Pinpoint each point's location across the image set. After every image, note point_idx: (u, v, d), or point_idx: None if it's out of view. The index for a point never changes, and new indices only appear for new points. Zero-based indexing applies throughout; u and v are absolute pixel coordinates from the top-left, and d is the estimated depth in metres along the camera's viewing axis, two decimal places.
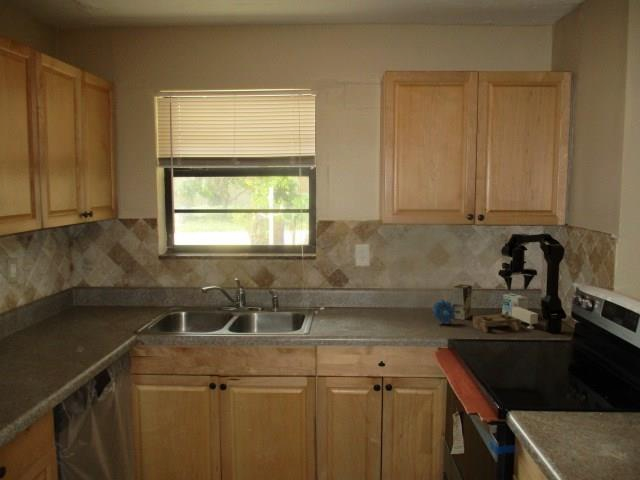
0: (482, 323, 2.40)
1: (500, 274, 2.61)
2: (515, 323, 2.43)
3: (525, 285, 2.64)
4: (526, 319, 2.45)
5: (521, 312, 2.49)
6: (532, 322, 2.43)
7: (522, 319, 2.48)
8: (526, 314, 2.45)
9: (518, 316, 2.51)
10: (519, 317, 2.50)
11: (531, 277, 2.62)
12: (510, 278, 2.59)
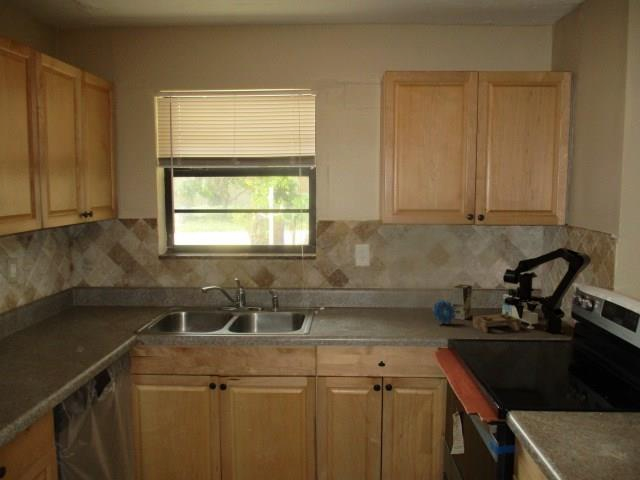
0: (482, 323, 2.40)
1: (506, 302, 2.47)
2: (515, 323, 2.43)
3: None
4: (526, 319, 2.45)
5: None
6: (532, 322, 2.43)
7: (522, 319, 2.48)
8: (526, 314, 2.45)
9: (518, 316, 2.51)
10: None
11: (535, 305, 2.47)
12: (522, 306, 2.46)
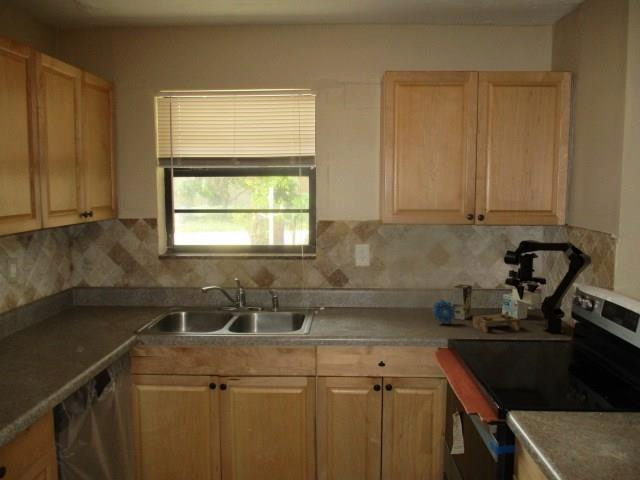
0: (482, 323, 2.40)
1: (507, 283, 2.46)
2: (515, 323, 2.43)
3: None
4: (527, 300, 2.44)
5: None
6: (533, 303, 2.42)
7: (523, 300, 2.47)
8: (527, 295, 2.44)
9: None
10: None
11: (535, 286, 2.46)
12: (522, 287, 2.45)
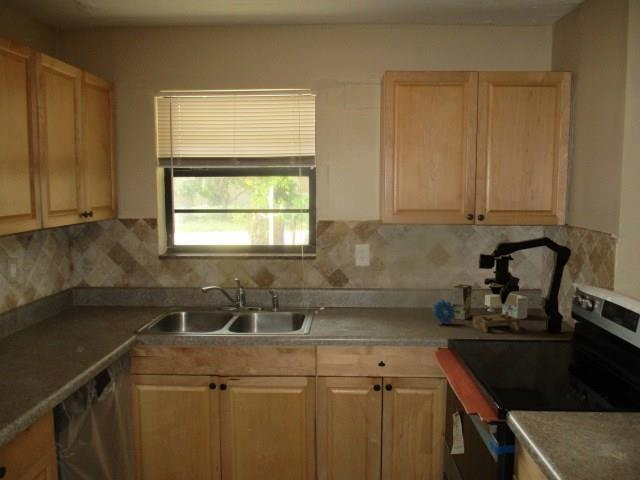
0: (482, 323, 2.40)
1: None
2: (515, 323, 2.43)
3: None
4: None
5: None
6: (486, 303, 2.41)
7: None
8: None
9: None
10: None
11: (500, 291, 2.38)
12: (491, 288, 2.44)
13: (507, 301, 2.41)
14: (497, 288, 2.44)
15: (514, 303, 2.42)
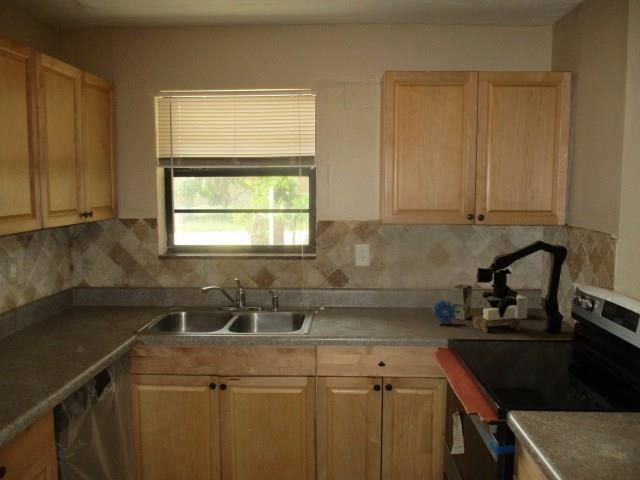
0: (482, 323, 2.40)
1: None
2: (515, 323, 2.43)
3: None
4: None
5: None
6: (484, 317, 2.42)
7: None
8: None
9: None
10: None
11: (498, 304, 2.38)
12: (489, 301, 2.45)
13: (505, 315, 2.41)
14: (495, 301, 2.44)
15: (513, 316, 2.42)
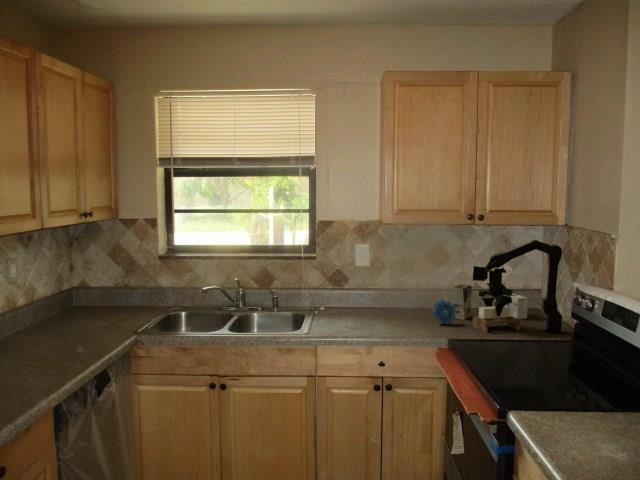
0: (482, 323, 2.40)
1: None
2: (515, 323, 2.43)
3: None
4: None
5: None
6: (480, 316, 2.45)
7: None
8: None
9: None
10: None
11: (495, 303, 2.40)
12: (483, 299, 2.49)
13: (501, 313, 2.45)
14: (489, 299, 2.49)
15: (508, 315, 2.46)
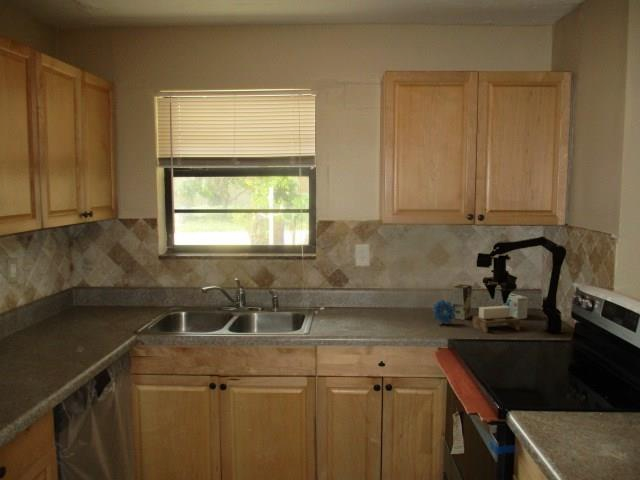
0: (482, 323, 2.40)
1: None
2: (515, 323, 2.43)
3: None
4: None
5: None
6: (480, 316, 2.45)
7: None
8: None
9: None
10: None
11: (501, 290, 2.41)
12: (486, 285, 2.53)
13: (501, 313, 2.45)
14: (492, 286, 2.53)
15: (508, 315, 2.46)
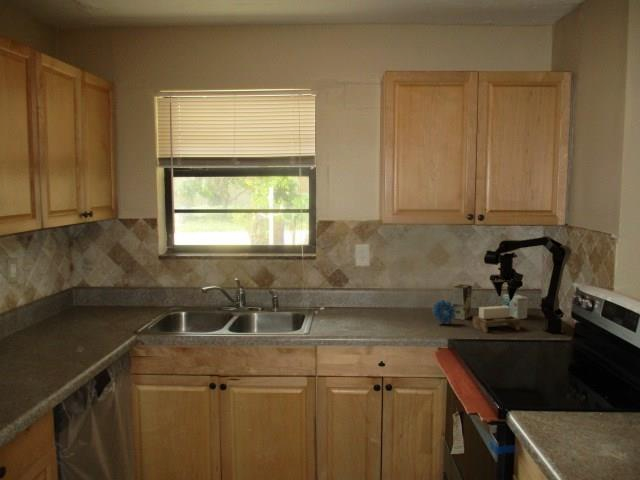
0: (482, 323, 2.40)
1: None
2: (515, 323, 2.43)
3: None
4: None
5: None
6: (480, 316, 2.45)
7: None
8: None
9: None
10: None
11: (507, 287, 2.47)
12: (493, 283, 2.59)
13: (501, 313, 2.45)
14: (499, 283, 2.58)
15: (508, 315, 2.46)
